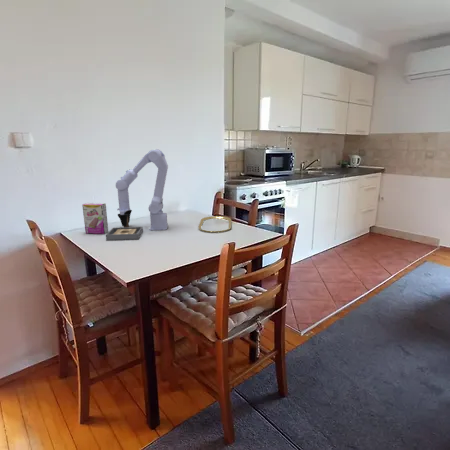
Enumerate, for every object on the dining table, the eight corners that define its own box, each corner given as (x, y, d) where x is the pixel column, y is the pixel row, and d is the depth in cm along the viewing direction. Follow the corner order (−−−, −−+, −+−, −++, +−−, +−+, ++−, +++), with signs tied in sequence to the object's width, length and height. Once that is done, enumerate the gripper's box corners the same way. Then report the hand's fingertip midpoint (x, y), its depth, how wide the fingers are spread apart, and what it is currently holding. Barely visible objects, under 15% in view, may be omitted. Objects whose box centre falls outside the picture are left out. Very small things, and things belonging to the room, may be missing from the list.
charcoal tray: (143, 232, 180) (142, 226, 179) (138, 239, 166) (137, 234, 166) (113, 232, 179) (112, 227, 178) (106, 240, 165) (105, 234, 165)
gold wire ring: (231, 218, 211) (231, 216, 210) (231, 233, 177) (231, 231, 176) (202, 218, 211) (202, 216, 211) (196, 233, 177) (196, 231, 177)
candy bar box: (85, 234, 177) (81, 204, 173) (89, 231, 182) (86, 202, 178) (104, 234, 176) (101, 204, 172) (109, 231, 181) (106, 202, 177)
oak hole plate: (136, 232, 178) (136, 228, 177) (133, 237, 168) (132, 234, 167) (118, 232, 177) (117, 229, 176) (113, 238, 167) (112, 234, 167)
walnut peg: (129, 227, 189) (128, 214, 187) (128, 228, 186) (127, 215, 184) (124, 227, 189) (123, 214, 187) (123, 229, 186) (121, 215, 184)
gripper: (119, 198, 190) (121, 221, 194) (113, 203, 176) (115, 227, 180) (132, 198, 191) (133, 221, 194) (126, 203, 177) (128, 227, 180)
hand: (125, 224), depth 187 cm, fingers open, 7 cm apart
